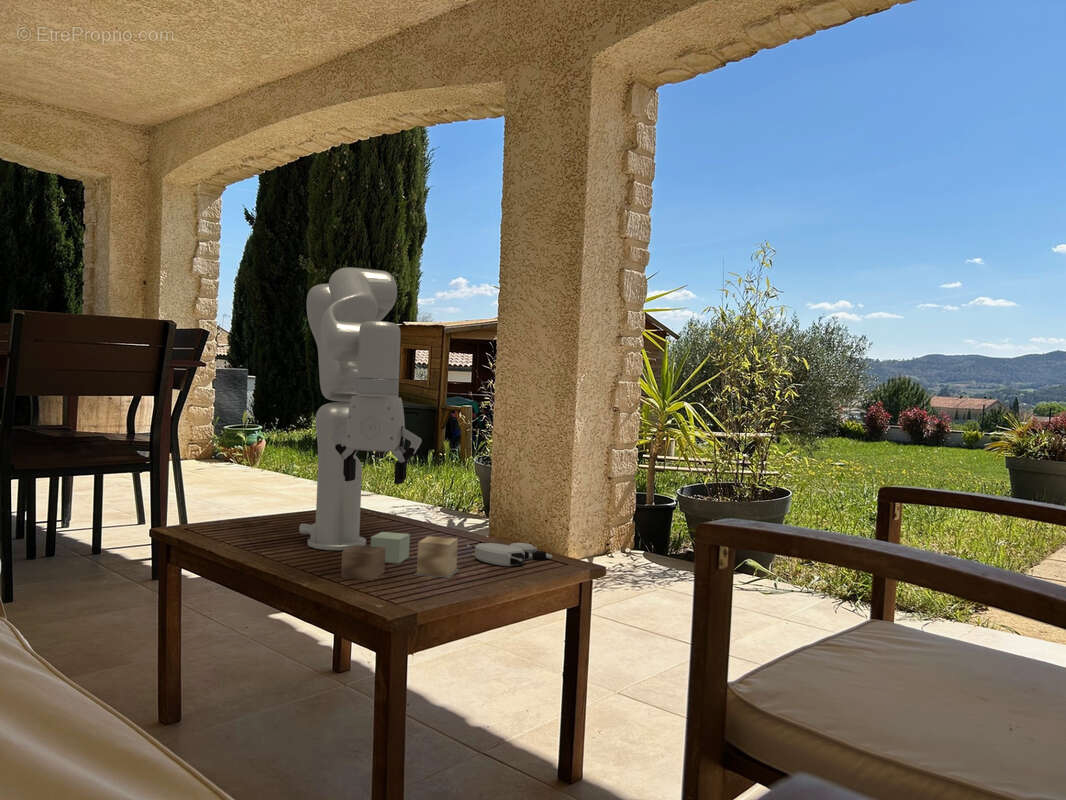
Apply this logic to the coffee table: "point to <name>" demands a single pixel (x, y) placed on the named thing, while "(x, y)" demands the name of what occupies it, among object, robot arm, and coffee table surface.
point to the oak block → (437, 556)
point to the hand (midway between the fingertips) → (374, 482)
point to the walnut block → (363, 562)
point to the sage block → (392, 545)
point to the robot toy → (508, 553)
